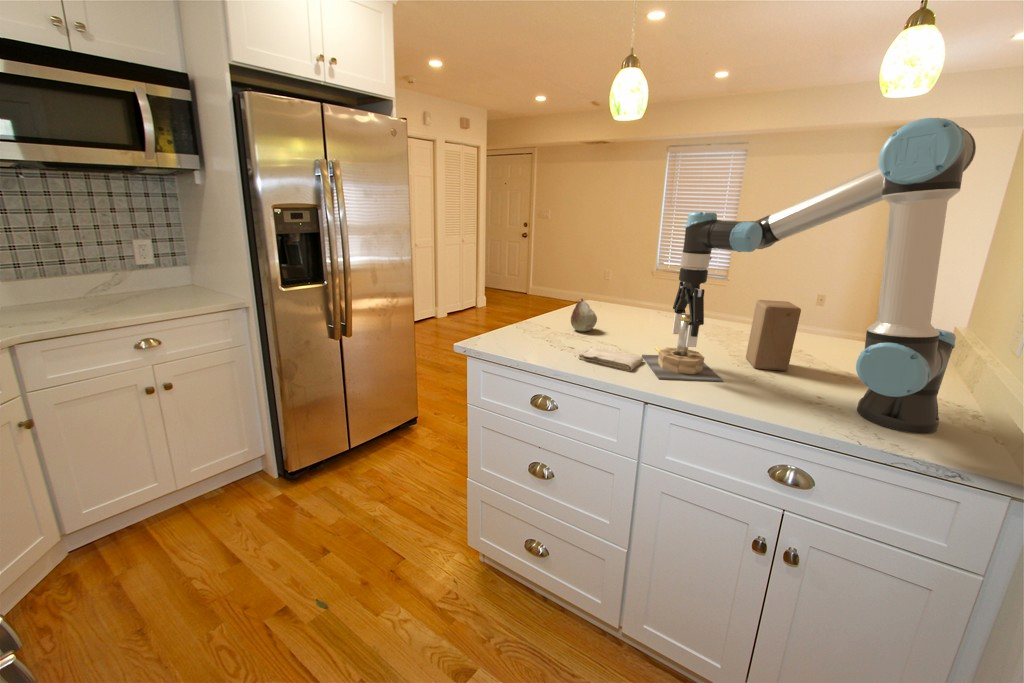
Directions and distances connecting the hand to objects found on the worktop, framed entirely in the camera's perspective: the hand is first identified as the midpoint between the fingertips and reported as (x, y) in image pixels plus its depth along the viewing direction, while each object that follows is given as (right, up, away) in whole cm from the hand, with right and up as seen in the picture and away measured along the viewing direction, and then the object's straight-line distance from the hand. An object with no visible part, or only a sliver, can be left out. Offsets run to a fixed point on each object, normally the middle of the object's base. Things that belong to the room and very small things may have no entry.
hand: (683, 340), depth 137 cm
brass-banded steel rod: (0, -8, +2) cm, 8 cm away
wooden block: (+29, -8, +8) cm, 31 cm away
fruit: (-24, +4, +40) cm, 47 cm away
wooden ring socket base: (0, -8, +3) cm, 9 cm away
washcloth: (-20, -7, +8) cm, 23 cm away
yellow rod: (-2, -4, +17) cm, 18 cm away
